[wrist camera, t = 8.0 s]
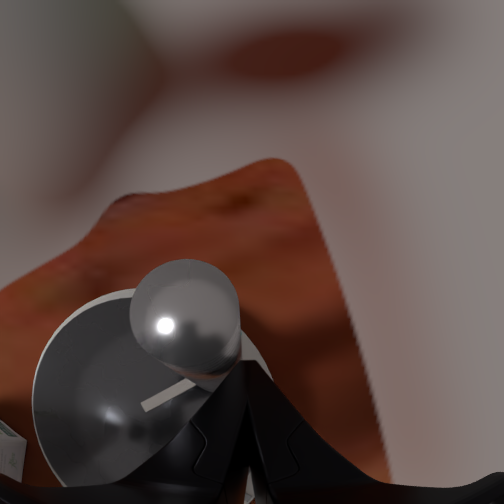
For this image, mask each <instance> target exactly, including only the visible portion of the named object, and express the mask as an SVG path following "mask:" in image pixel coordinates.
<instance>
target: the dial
mask: <svg viewBox="0 0 504 504" xmlns="http://www.w3.org/2000/svg"><path fill="white" fill-rule="evenodd" d="M240 360H242V344H241V328H240V311H239V300H238V297H237V293H236V291H235V288H234V286H233V285H232V283H231V281H230V280H229V279H228V278H227V276H226V275H225V274H224V273H223V272H222V271H220V270H219V269H217V268H216V267H214V266H212V265H211V264H208V263H206V262H203V261H199V260H193V259H181V260H175V261H170V262H168V263H165V264H163V265H160V266H158V267H157V268H155V269H154V270H152V271H151V272H150V273H149V274H147V275H146V276H145V277H144V278H143V280H142V281H141V282H140V283H139V285H138V287H137V288H136V290H135V292H134V294H133V297H130V298H119V299H115V300H110V301H106V302H103V303H100V304H98V305H95V306H93V307H91V308H89V309H87V310H85V311H83V312H82V313H80V314H79V315H77V316H76V317H74V318H73V319H72V320H71V321H69V322H68V323H67V324H66V325H65V326H64V327H63V328H62V329H61V330H60V331H59V332H58V334H57V335H56V336H55V337H54V339H53V340H52V342H51V343H50V345H49V346H48V348H47V349H46V351H45V353H44V356H43V358H42V360H41V362H40V365H39V368H38V371H37V375H36V380H35V384H34V394H33V411H34V419H35V425H36V430H37V433H38V437H39V440H40V443H41V445H42V448H43V450H44V453H45V455H46V457H47V459H48V460H49V462H50V464H51V466H52V468H53V469H54V470H55V472H56V473H57V475H58V476H59V477H60V479H61V480H62V481H63V482H64V483H65V485H66V486H67V487H77V486H90V485H101V484H108V483H112V482H115V481H118V480H120V479H122V478H123V477H125V476H127V475H128V474H130V473H131V472H132V471H134V470H135V469H136V468H137V467H139V466H140V465H141V464H142V463H144V462H145V461H146V460H148V459H149V458H150V457H151V456H153V455H154V454H155V453H156V452H157V451H159V450H160V449H161V448H162V447H163V446H164V445H166V444H167V443H168V442H169V441H170V440H171V439H172V438H173V437H174V436H175V435H176V434H177V433H178V432H179V431H180V430H181V429H182V428H183V427H184V425H185V424H186V423H187V422H188V421H189V420H190V419H191V418H192V416H193V415H194V414H195V413H196V412H197V411H198V409H199V408H200V407H201V406H202V405H203V404H204V402H205V401H206V400H207V399H208V398H209V397H210V395H211V394H212V393H213V392H214V391H215V389H216V388H217V387H218V386H219V385H220V383H221V382H222V381H223V380H224V379H225V377H226V376H227V375H228V374H229V373H230V371H231V370H232V369H233V368H234V366H235V365H236V364H237V363H238V361H240ZM249 473H250V466H249V472H248V475H249Z"/></svg>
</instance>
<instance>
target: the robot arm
mask: <svg viewBox="0 0 504 504" xmlns="http://www.w3.org/2000/svg"><path fill="white" fill-rule="evenodd" d="M249 466H250V472H251V478H252V484H253V490H254V496H255V502H256V504H504V472H496V473H492V474H490V475H488V476H486V477H484V478H482V479H480V480H478V481H476V482H474V483H471V484H468V485H464V486H460V487H453V488H434V487H417V486H406V485H396V484H388V483H383V482H380V481H377V480H375V479H373V478H371V477H369V476H368V475H366V474H365V473H363V472H362V471H361V470H360V469H358V468H357V467H356V466H354V465H353V464H352V463H351V462H349V461H348V460H347V459H346V458H344V457H343V456H342V455H341V454H339V453H338V452H337V451H336V450H335V449H333V448H332V447H331V446H330V445H329V444H328V443H327V442H325V441H324V440H323V439H322V438H321V437H320V436H319V435H318V434H317V433H316V432H315V430H314V429H313V428H312V427H311V426H310V425H309V424H308V422H307V421H306V420H304V418H303V417H302V416H301V414H300V413H299V412H298V411H297V410H296V408H295V407H294V406H293V405H292V404H291V402H290V401H289V400H288V399H287V398H286V396H285V395H284V394H283V393H282V392H281V390H280V389H279V388H278V387H277V385H276V384H275V383H274V382H273V380H272V379H271V378H270V377H269V375H268V374H267V373H266V372H265V370H264V369H263V368H262V367H261V365H260V364H259V363H258V362H257V361H256V360H240V361H238V363H237V364H236V365H235V366H234V368H233V369H232V370H231V371H230V373H229V374H228V375H227V376H226V377H225V379H224V380H223V381H222V382H221V383H220V385H219V386H218V387H217V388H216V389H215V391H214V392H213V393H212V394H211V395H210V397H209V398H208V399H207V400H206V401H205V402H204V404H203V405H202V406H201V407H200V408H199V409H198V411H197V412H196V413H195V414H194V415H193V416H192V418H191V419H190V420H189V421H188V422H187V423H186V424H185V425H184V427H183V428H182V429H181V430H180V431H179V432H178V433H177V434H176V435H175V436H174V437H173V438H172V439H171V440H170V441H169V442H168V443H167V444H166V445H164V446H163V447H162V448H161V449H160V450H159V451H157V452H156V453H155V454H154V455H153V456H151V457H150V458H149V459H148V460H146V461H145V462H144V463H142V464H141V465H140V466H139V467H137V468H136V469H135V470H134V471H132V472H131V473H130V474H128V475H127V476H125V477H123V478H122V479H120V480H118V481H115V482H112V483H108V484H101V485H90V486H77V487H36V486H30V485H27V484H23V483H21V482H18V481H16V480H14V479H12V478H11V477H9V476H7V475H4V474H2V473H0V504H244V499H245V493H246V486H247V479H248V472H249Z"/></svg>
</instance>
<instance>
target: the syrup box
mask: <svg viewBox="0 0 504 504" xmlns="http://www.w3.org/2000/svg"><path fill="white" fill-rule="evenodd" d="M26 444H27V440H26V439H24V438H23V437H22V436H20V435H19V434H17V433H16V432H15V431H14V430H12V429H11V428H10V427H9V426H8V425H6V424H5V423H4V422H3V421H1V420H0V473H2V474H4V475H7V476H9V477H11V478H12V479H14V480H16V481H18V482H21V481H22V472H23V465H24V458H25V452H26Z"/></svg>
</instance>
